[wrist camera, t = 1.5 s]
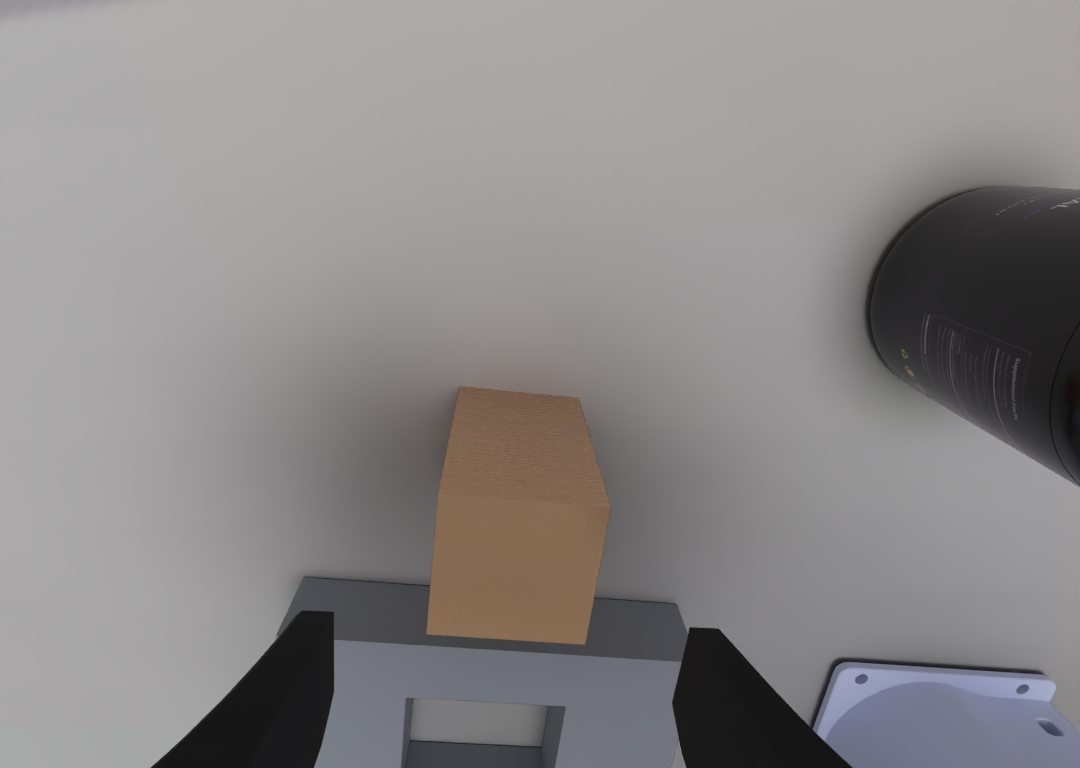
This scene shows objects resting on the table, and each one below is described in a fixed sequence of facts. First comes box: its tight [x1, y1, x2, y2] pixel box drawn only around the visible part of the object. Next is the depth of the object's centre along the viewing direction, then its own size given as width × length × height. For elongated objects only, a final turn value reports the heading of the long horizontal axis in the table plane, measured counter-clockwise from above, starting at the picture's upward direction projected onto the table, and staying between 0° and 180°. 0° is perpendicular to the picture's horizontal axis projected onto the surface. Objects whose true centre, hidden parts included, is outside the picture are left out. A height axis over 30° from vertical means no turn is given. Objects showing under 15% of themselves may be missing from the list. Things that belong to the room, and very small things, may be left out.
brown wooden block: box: [426, 386, 611, 645], centre depth 18 cm, size 4×4×7 cm
